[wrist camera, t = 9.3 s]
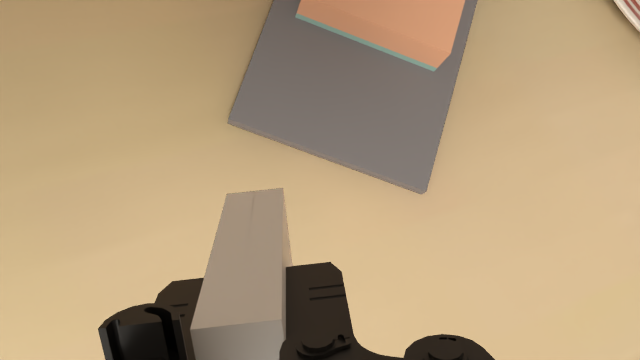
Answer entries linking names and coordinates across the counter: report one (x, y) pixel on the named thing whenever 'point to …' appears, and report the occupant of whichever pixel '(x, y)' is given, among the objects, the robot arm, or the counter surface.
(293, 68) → the mat
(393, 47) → the peach box
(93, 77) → the counter surface
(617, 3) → the dinner plate
